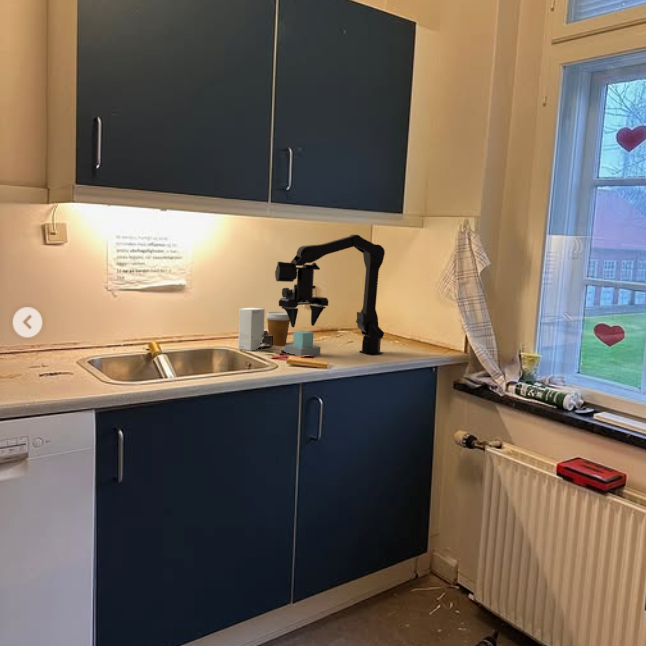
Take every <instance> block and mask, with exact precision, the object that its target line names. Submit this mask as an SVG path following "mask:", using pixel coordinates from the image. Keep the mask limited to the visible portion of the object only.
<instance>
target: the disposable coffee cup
mask: <svg viewBox="0 0 646 646" xmlns="http://www.w3.org/2000/svg"><path fill="white" fill-rule="evenodd" d="M265 316H266V319H267V330H268V331H267V332H268V333H269V334H270V335H272V336H273V345H274V347H275V346H276V347H282V346H284V347H285V345H287V338H288V333H289V327H290V320H289V317H288V314H287V312H286V311H268V312H267V314H266V315H265ZM269 334H268V335H269ZM273 345H272V346H273Z"/></svg>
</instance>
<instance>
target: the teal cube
mask: <svg viewBox="0 0 646 646" xmlns="http://www.w3.org/2000/svg"><path fill="white" fill-rule="evenodd" d="M292 336H293V338H292V339H293V340H292V344H293V346H297V347H301V348H305V347H313V345H314V332H313V331H308V330H295V331H293V335H292Z"/></svg>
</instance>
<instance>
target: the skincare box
mask: <svg viewBox="0 0 646 646" xmlns="http://www.w3.org/2000/svg"><path fill="white" fill-rule="evenodd" d="M238 311H239V312H238V313H239V314H238V344H237V345H238V348H237V349H239V350H243V351H247V350H249V352H253V351H256V349H257V350H259V349H258V348H259V347H260V343H261V341H262V340H263V339H264V338H265V313H266V312H265V308H261V307H243V308H239V309H238ZM264 340H265V339H264ZM252 350H253V351H252Z"/></svg>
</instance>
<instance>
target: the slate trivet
mask: <svg viewBox="0 0 646 646" xmlns="http://www.w3.org/2000/svg"><path fill="white" fill-rule="evenodd" d="M283 352H286V353H290V354H295V355H318V356H321V346H319V345H315V344H313V347H305V348H301V347H297V346H293V343H290V344H286V345H284V351H283Z"/></svg>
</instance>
